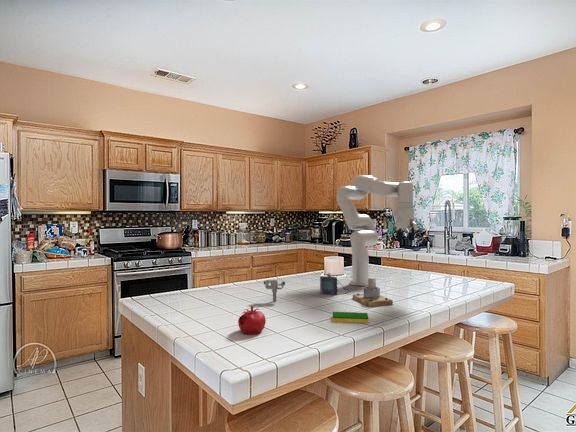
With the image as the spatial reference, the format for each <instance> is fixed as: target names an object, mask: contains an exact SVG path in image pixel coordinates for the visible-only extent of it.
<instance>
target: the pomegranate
mask: <svg viewBox="0 0 576 432" xmlns="http://www.w3.org/2000/svg"><path fill="white" fill-rule="evenodd" d="M257 310H258V311H257ZM237 323H238V324H237V325H238V327H239V330H240V331H241V332H242V333H244V334H248V335H256V334H260V333H261V332H262V331H263V330H264V329H265V326H266V323H267V321H266V316H265V314H264V313H263V312H262V311H261V309H259V308H255V309H254V306H253V305H250V310H249V309H247V308H246V309H244V308H243V312H242V314H241V315H240V317H238V320H237Z"/></svg>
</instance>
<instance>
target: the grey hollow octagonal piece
mask: <svg viewBox="0 0 576 432" xmlns="http://www.w3.org/2000/svg"><path fill="white" fill-rule="evenodd" d="M363 294H364V297H365V298H367V299H379V298H380V295H381V288H380V287H377V286H376V289H368V286H363Z"/></svg>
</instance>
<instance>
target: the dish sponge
mask: <svg viewBox="0 0 576 432" xmlns="http://www.w3.org/2000/svg"><path fill="white" fill-rule="evenodd" d="M331 319H332V322H335V323H337V322H338V323H339V322H340V323H357V324H359V323H360V324H361V323H362V324H368V323H369V322H370V321H369V314H368V312H353V311H333V312H332V318H331Z"/></svg>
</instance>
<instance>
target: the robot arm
mask: <svg viewBox="0 0 576 432" xmlns="http://www.w3.org/2000/svg"><path fill="white" fill-rule="evenodd" d="M370 193H371V194H373V195H375V196H380V197H386V198H388V197H389V198H390V197H391V198H397V208H396V212H395V213H396V214H395V222H394V228H395V231H396V240H403V229H407V231H408V233H407V235H408V236H407V238H408V241H415V233H416V230H417V226H418V224H417V222H415V212H414V183H413V182H412V181H401V182H400V181H399V182H391V181H381V180H380V179H379V178H378V177H374V176H373V175H366V174H365V175H364V174H360V175H356V176H355V177H354V178H353V179H352V185H343V186H341V187H339V188H338V190H337V192H336V201H337V204H338V206H339V208H340V210H341V212H342V215H343V217H344V221H345V222H346V225H347V227H348V229H349V230H350V231H351V230H352V232H351V234H350V244H351V261H352V262H351V270H352V271H351V273H352V274H351V276H350V278H351V280H350V281H349V285H352V286H358V287H362V286H363V287H368V278H370V277H369V276H370V273H369V270H370V269H369V268H370V267H369V264H370V263H369V262H370V261H369V258H370V257H369V251H368V249H367V247H371V246H372V247H373V246H375V245H377V244H378V243H379V234H378V232H377V228H376V227H375V225H374V222H373V219H372V218H371V216H370V215H368V214H364V213H362V214H361V213H359V211H358V210H357V207H356V206H355V204H354V203H353V202H352V201H360V200H362V199H364V198H365V197H366V196H368V195H369V194H370Z"/></svg>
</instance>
